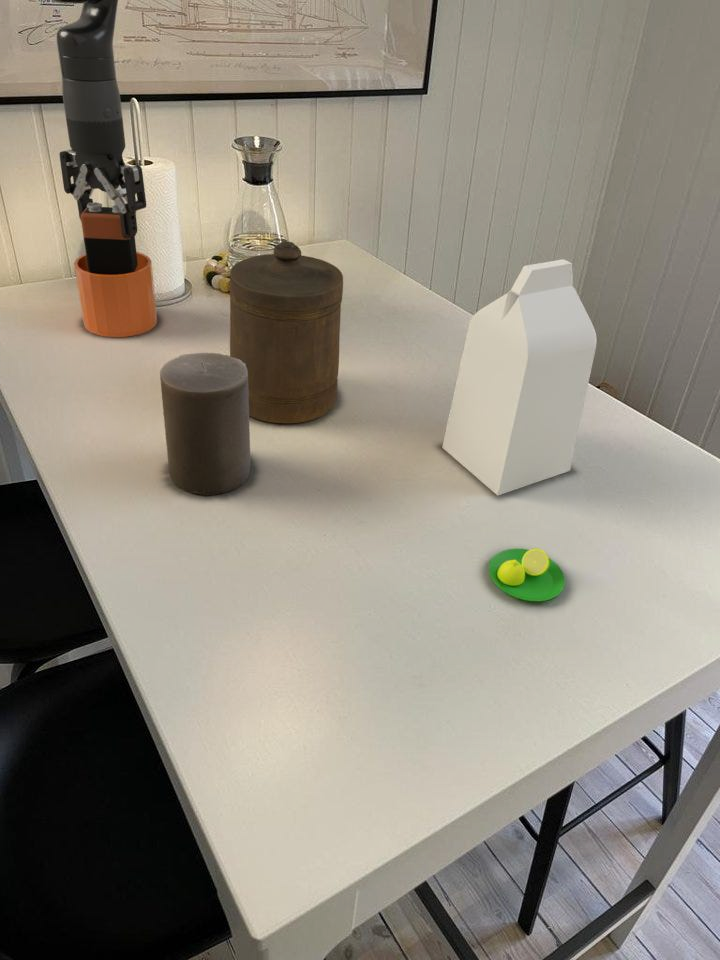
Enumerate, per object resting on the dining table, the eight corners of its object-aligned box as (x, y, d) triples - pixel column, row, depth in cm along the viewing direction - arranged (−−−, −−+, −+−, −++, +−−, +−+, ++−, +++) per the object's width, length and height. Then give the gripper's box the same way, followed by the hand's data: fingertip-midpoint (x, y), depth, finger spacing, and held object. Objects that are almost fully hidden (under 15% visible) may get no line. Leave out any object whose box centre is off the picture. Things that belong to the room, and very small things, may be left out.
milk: (497, 495, 91) (542, 291, 76) (442, 447, 99) (472, 253, 84) (570, 470, 97) (625, 275, 81) (512, 426, 104) (553, 241, 89)
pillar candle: (202, 506, 86) (194, 391, 77) (153, 468, 91) (140, 357, 82) (267, 473, 92) (267, 363, 83) (218, 440, 97) (212, 333, 88)
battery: (94, 264, 119) (85, 199, 113) (138, 266, 119) (131, 201, 114) (88, 274, 115) (78, 208, 109) (133, 276, 116) (126, 210, 110)
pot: (68, 324, 120) (57, 263, 115) (120, 301, 129) (112, 244, 123) (121, 344, 116) (113, 282, 110) (171, 319, 124) (166, 260, 119)
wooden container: (354, 389, 110) (365, 240, 97) (302, 436, 99) (307, 274, 86) (268, 362, 115) (268, 216, 102) (210, 404, 104) (201, 246, 91)
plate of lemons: (519, 543, 84) (524, 523, 83) (578, 583, 80) (585, 563, 78) (472, 573, 80) (476, 553, 78) (532, 617, 75) (538, 597, 74)
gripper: (152, 118, 104) (162, 235, 114) (77, 101, 109) (93, 214, 119) (112, 126, 99) (126, 248, 108) (35, 108, 104) (55, 226, 114)
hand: (108, 230), depth 114 cm, fingers closed on battery, 8 cm apart
